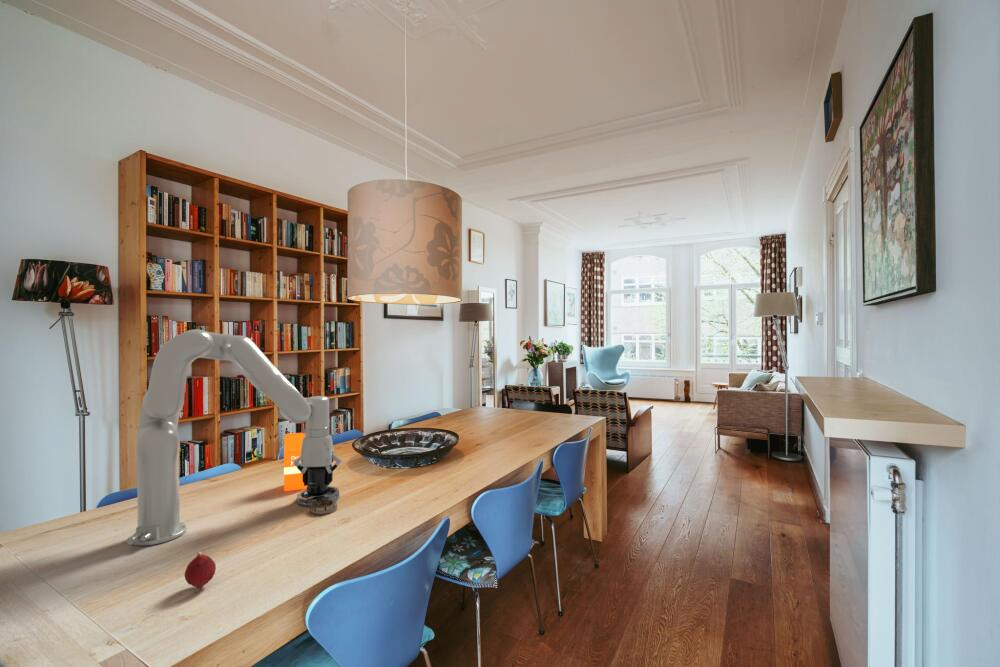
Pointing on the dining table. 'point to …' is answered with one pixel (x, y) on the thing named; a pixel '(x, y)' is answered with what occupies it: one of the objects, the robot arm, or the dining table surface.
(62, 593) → the dining table surface
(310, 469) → the supplement bottle
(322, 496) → the wide flange
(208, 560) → the onion
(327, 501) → the narrow flange
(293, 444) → the orange juice
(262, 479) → the dining table surface
